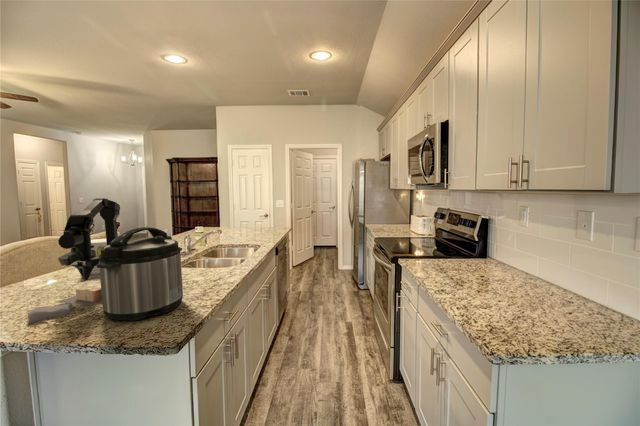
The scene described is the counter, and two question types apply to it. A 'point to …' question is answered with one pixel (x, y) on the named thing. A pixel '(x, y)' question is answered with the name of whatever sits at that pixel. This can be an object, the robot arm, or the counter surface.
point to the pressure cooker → (140, 275)
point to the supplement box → (97, 251)
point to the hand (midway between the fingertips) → (85, 280)
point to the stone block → (49, 312)
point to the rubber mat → (78, 301)
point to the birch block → (89, 293)
